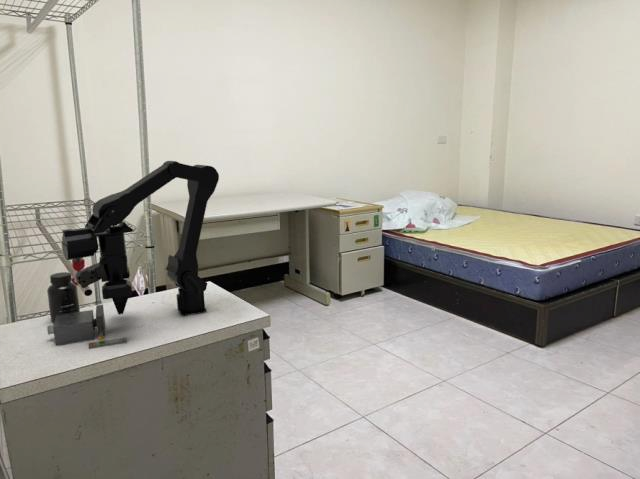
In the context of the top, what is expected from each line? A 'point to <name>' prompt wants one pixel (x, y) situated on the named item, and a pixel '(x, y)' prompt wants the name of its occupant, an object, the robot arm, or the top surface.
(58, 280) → the supplement bottle
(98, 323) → the gauge plunger
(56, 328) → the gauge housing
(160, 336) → the top surface
